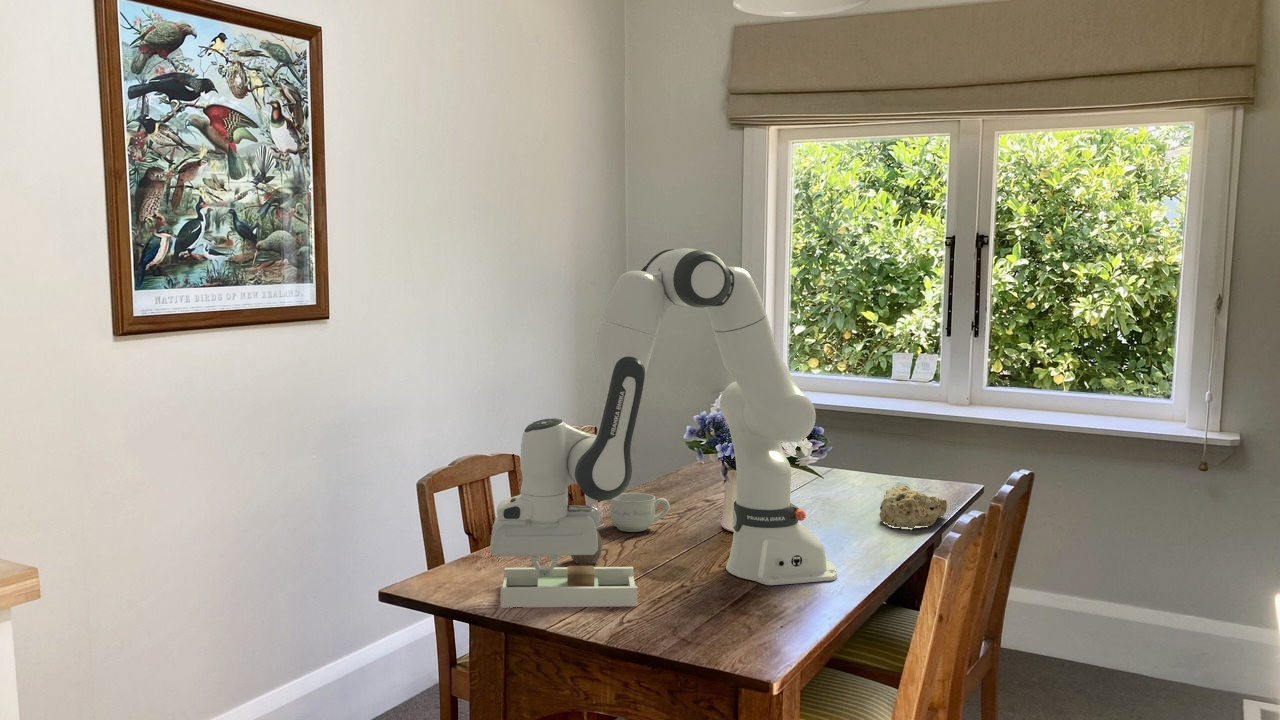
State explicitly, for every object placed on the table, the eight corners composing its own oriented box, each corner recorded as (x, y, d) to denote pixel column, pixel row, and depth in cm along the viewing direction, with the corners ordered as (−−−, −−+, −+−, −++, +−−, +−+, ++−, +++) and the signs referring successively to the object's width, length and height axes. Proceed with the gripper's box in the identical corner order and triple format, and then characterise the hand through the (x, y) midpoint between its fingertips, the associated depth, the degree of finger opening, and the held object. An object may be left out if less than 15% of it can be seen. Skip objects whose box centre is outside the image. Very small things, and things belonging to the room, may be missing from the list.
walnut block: (593, 580, 187) (593, 565, 187) (594, 589, 182) (594, 574, 182) (567, 581, 187) (567, 565, 186) (567, 590, 182) (567, 574, 181)
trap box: (632, 584, 191) (633, 566, 191) (637, 606, 180) (637, 587, 179) (504, 585, 189) (504, 567, 189) (500, 607, 178) (500, 589, 177)
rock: (889, 511, 253) (901, 475, 252) (943, 532, 246) (956, 495, 245) (867, 520, 235) (879, 482, 234) (925, 544, 228) (938, 504, 227)
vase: (572, 569, 200) (573, 527, 199) (566, 558, 206) (566, 518, 205) (605, 566, 202) (606, 525, 201) (597, 556, 208) (598, 516, 207)
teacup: (604, 533, 225) (604, 499, 224) (616, 521, 236) (616, 488, 235) (662, 538, 222) (663, 504, 221) (672, 525, 232) (673, 493, 232)
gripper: (599, 500, 186) (599, 570, 188) (491, 502, 185) (492, 572, 186) (600, 509, 180) (600, 581, 182) (488, 511, 178) (489, 583, 180)
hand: (544, 577), depth 184 cm, fingers closed
